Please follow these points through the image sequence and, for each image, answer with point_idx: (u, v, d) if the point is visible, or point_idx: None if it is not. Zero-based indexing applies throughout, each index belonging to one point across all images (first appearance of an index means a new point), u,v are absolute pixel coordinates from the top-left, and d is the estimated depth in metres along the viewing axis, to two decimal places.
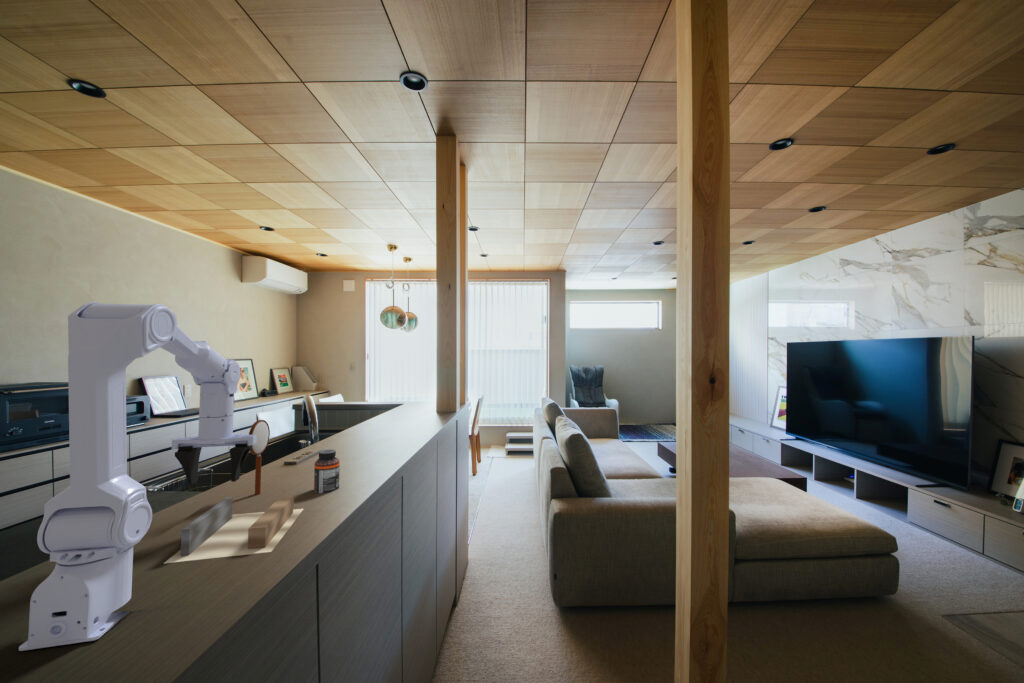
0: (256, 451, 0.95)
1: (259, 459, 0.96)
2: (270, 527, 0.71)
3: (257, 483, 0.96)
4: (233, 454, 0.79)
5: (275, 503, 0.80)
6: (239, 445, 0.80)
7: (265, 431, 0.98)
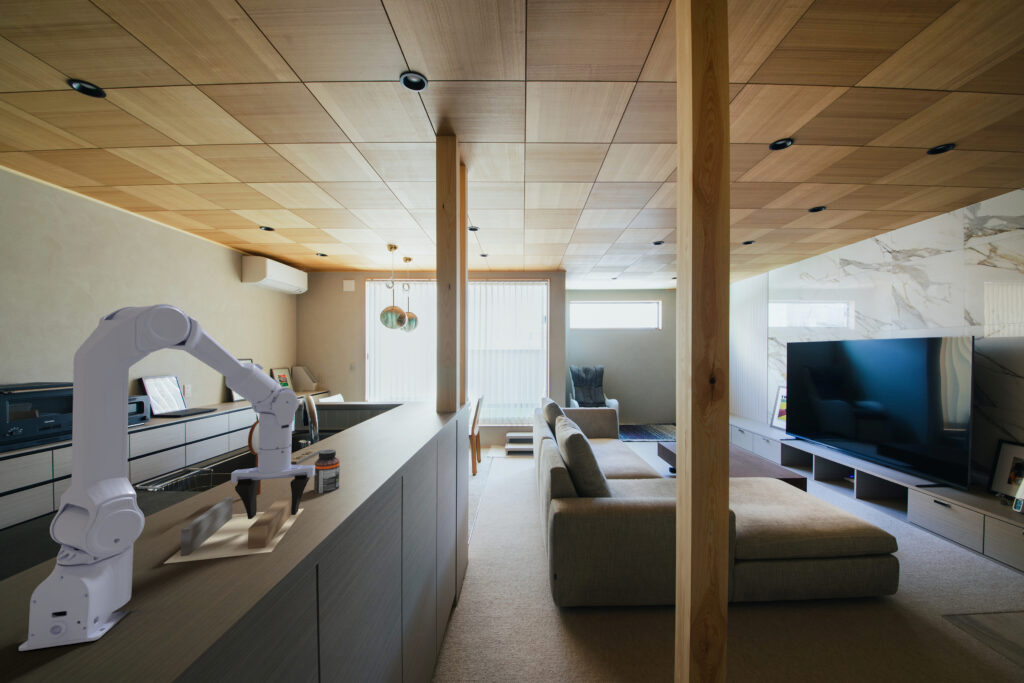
0: (256, 451, 0.95)
1: None
2: (270, 527, 0.71)
3: None
4: (294, 487, 0.76)
5: (275, 503, 0.80)
6: (299, 477, 0.77)
7: None
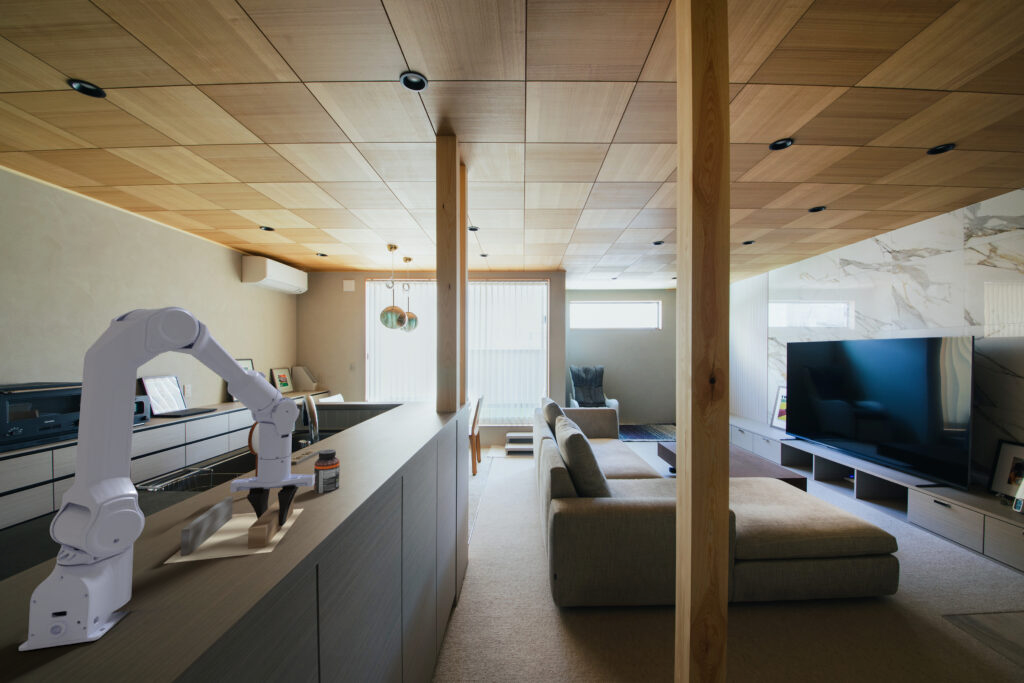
0: (256, 451, 0.95)
1: None
2: (270, 527, 0.71)
3: None
4: (281, 498, 0.75)
5: (275, 503, 0.80)
6: (286, 487, 0.77)
7: None
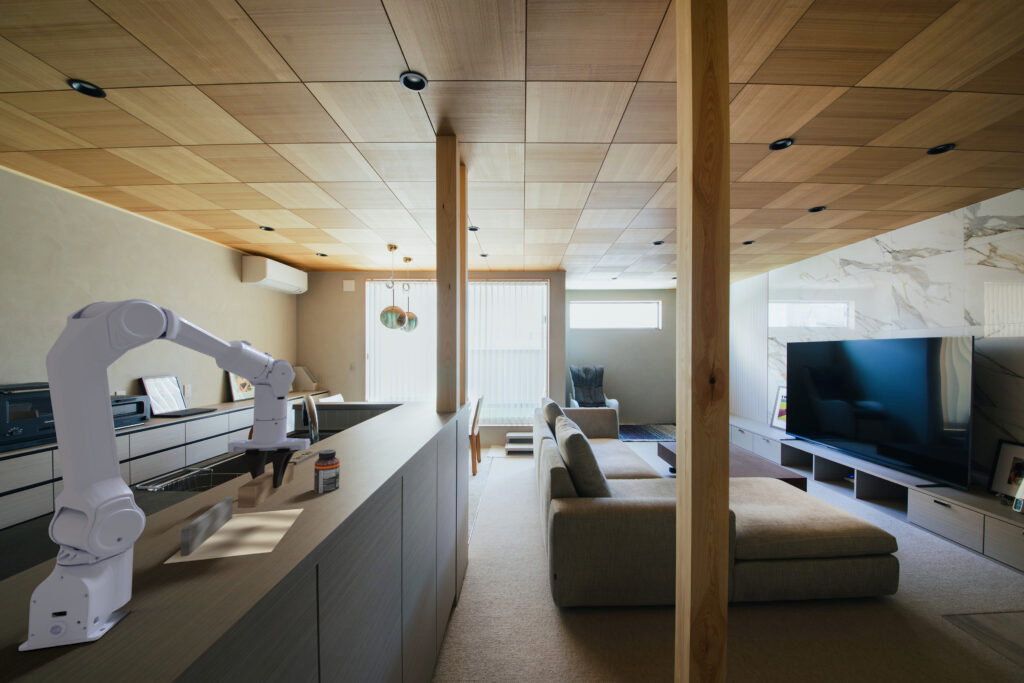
0: None
1: None
2: (261, 489, 0.71)
3: None
4: (275, 459, 0.75)
5: None
6: (281, 450, 0.76)
7: None
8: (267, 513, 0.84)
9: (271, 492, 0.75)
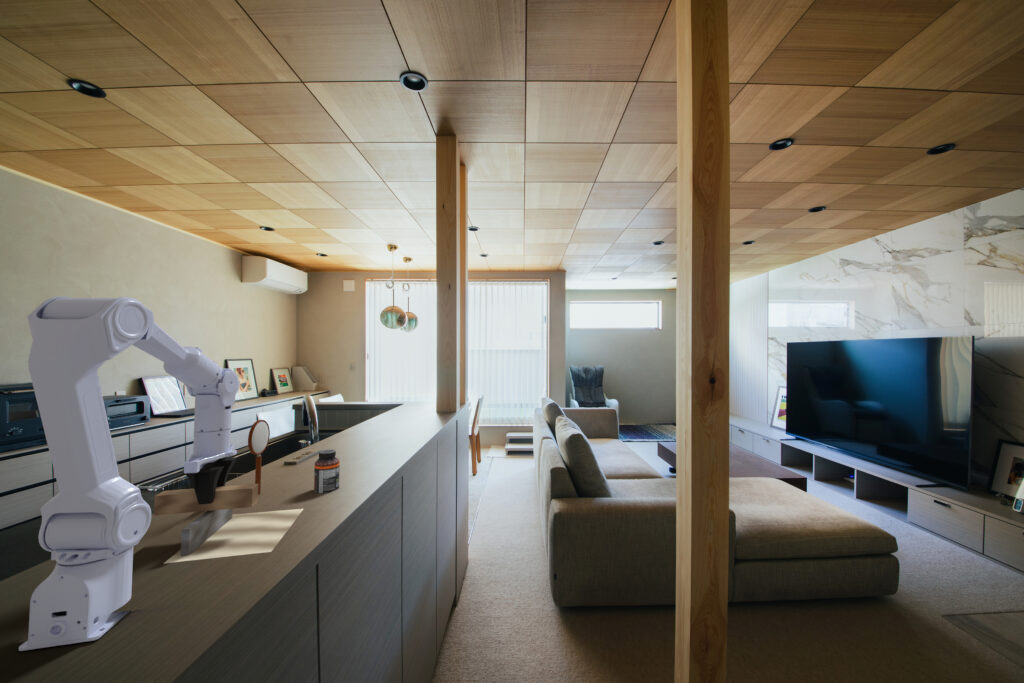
0: (256, 451, 0.95)
1: (259, 459, 0.96)
2: (168, 500, 0.71)
3: (257, 483, 0.96)
4: None
5: (235, 486, 0.76)
6: None
7: (265, 431, 0.98)
8: (267, 513, 0.84)
9: (192, 509, 0.72)
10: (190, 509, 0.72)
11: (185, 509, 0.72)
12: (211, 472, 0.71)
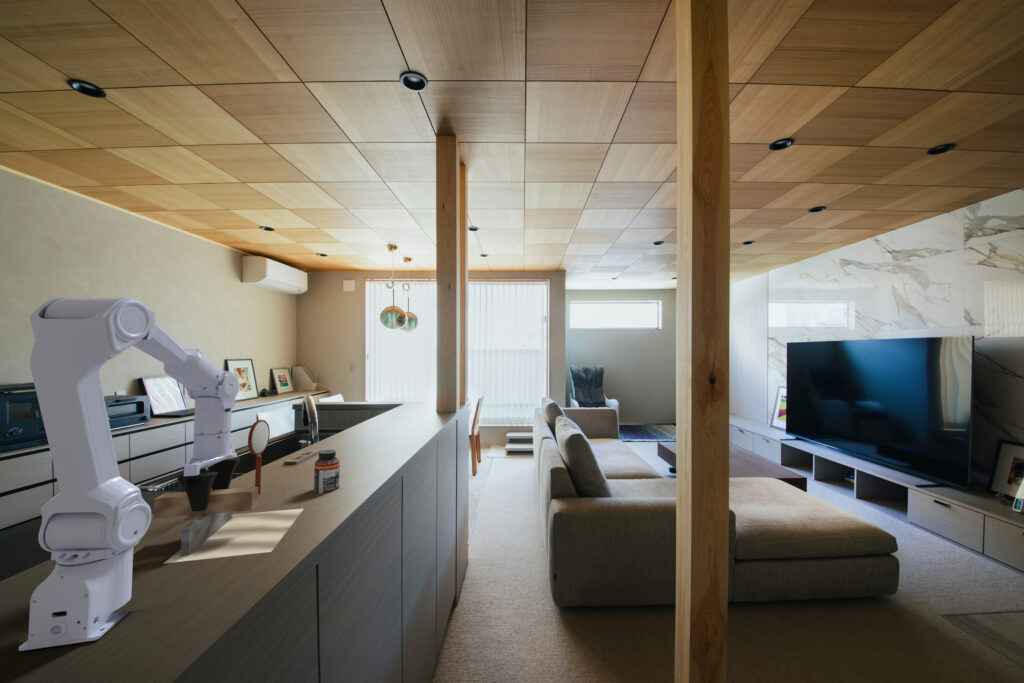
0: (256, 451, 0.95)
1: (259, 459, 0.96)
2: (168, 503, 0.71)
3: (257, 483, 0.96)
4: None
5: (235, 489, 0.76)
6: None
7: (265, 431, 0.98)
8: (267, 513, 0.84)
9: (192, 512, 0.72)
10: (190, 512, 0.72)
11: (185, 512, 0.72)
12: (205, 478, 0.69)
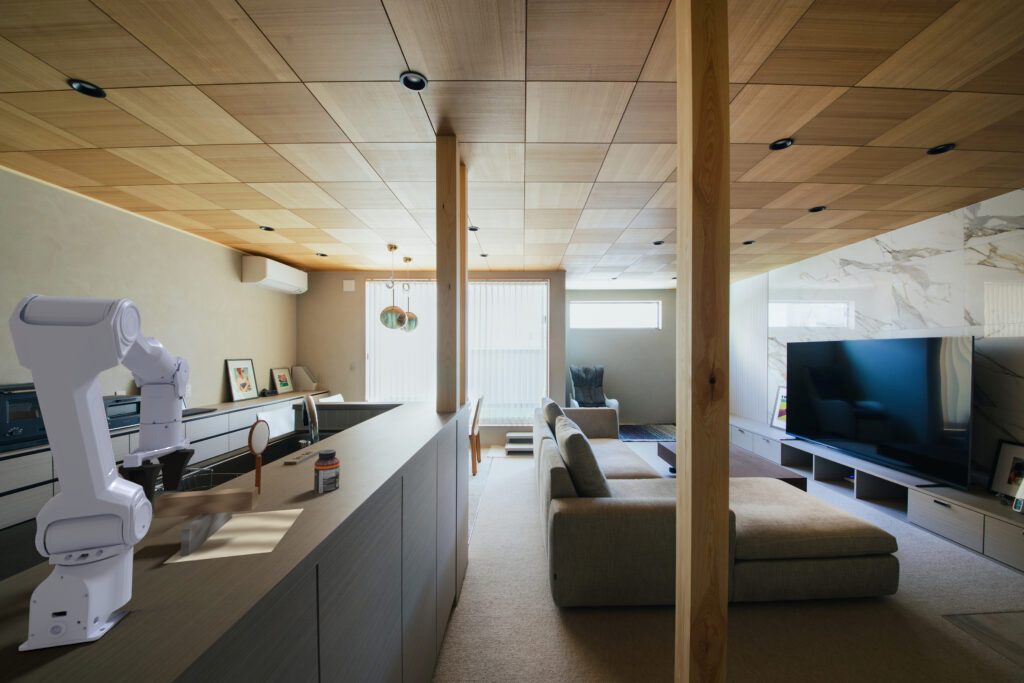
0: (256, 451, 0.95)
1: (259, 459, 0.96)
2: (168, 503, 0.71)
3: (257, 483, 0.96)
4: None
5: (235, 489, 0.76)
6: None
7: (265, 431, 0.98)
8: (267, 513, 0.84)
9: (192, 512, 0.72)
10: (190, 512, 0.72)
11: (185, 512, 0.72)
12: (147, 470, 0.65)
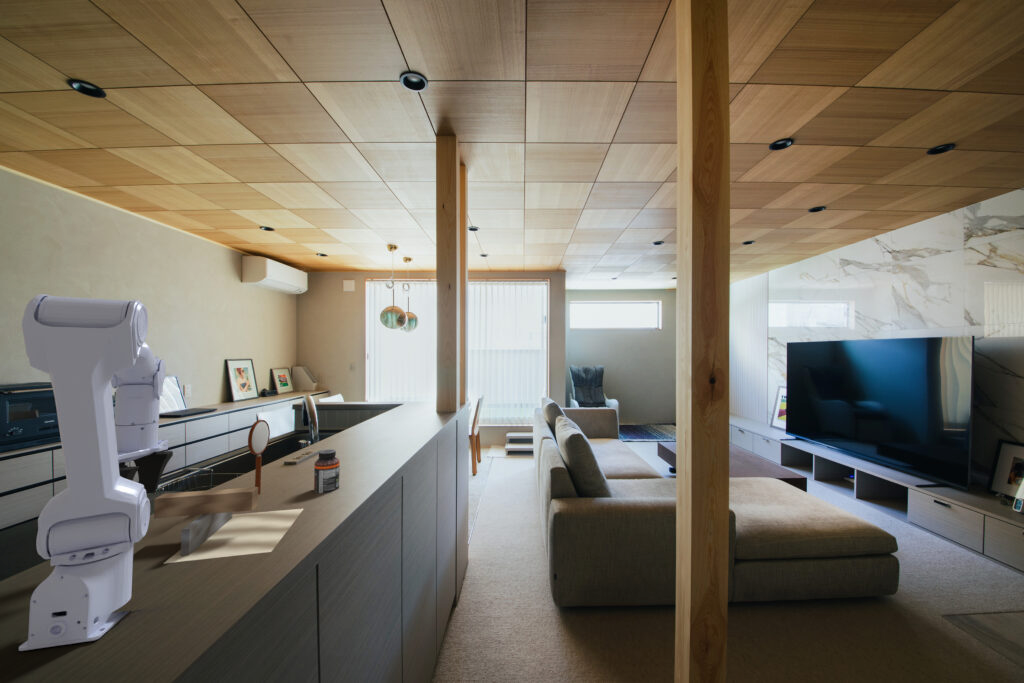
0: (256, 451, 0.95)
1: (259, 459, 0.96)
2: (168, 503, 0.71)
3: (257, 483, 0.96)
4: None
5: (235, 489, 0.76)
6: None
7: (265, 431, 0.98)
8: (267, 513, 0.84)
9: (192, 512, 0.72)
10: (190, 512, 0.72)
11: (185, 512, 0.72)
12: (122, 473, 0.63)
